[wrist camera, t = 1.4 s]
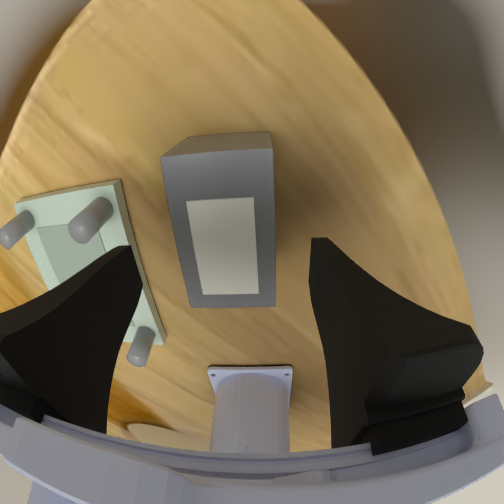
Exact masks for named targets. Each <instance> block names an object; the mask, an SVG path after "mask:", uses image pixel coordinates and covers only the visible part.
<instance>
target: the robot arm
mask: <svg viewBox="0 0 504 504" xmlns="http://www.w3.org/2000/svg"><path fill="white" fill-rule="evenodd" d="M142 288H143V282H142V279H141V276H140V273H139V270H138V266H137V263H136V260H135V257H134V254H133V250H132V247H131V245H121V246H117V247H115V248H113V249H111V250H110V251H108V252H106V253H105V254H103V255H102V256H100V257H99V258H97V259H96V260H95V261H93V262H92V263H90V264H89V265H87V266H86V267H85V268H83V269H82V270H80V271H79V272H77V273H76V274H74V275H73V276H71V277H70V278H68V279H67V280H66V281H64V282H63V283H61V284H59V285H58V286H56V287H55V288H53V289H51V290H49V291H48V292H46V293H44V294H43V295H41V296H39V297H37V298H35V299H33V300H31V301H29V302H27V303H25V304H23V305H20V306H18V307H16V308H13V309H11V310H8V311H6V312H3V313H0V456H2V457H3V459H4V461H5V463H6V464H8V465H9V466H11V467H12V468H13V469H15V470H17V471H18V472H20V473H21V474H23V475H25V476H26V477H28V478H30V479H31V480H33V483H32V487H31V491H30V494H29V499H28V503H27V504H431V503H433V502H435V501H438V500H440V499H442V498H445V497H447V496H449V495H451V494H453V493H455V492H458V491H460V490H462V489H464V488H466V487H467V486H469V485H471V484H473V483H475V482H477V481H478V480H480V479H482V478H484V477H486V476H487V475H489V474H491V473H492V472H494V471H496V470H497V469H499V468H500V467H502V466H504V410H503V407H502V405H501V403H500V400H499V398H498V396H497V394H493V395H491V396H488V397H486V398H484V399H481V400H479V401H477V402H474V403H472V404H470V405H469V406H467V407H466V408H465V409H464V407H463V404H462V402H461V401H462V400H464V398H465V394H464V391H463V389H462V387H463V386H464V384H465V383H466V382H467V381H468V379H469V378H470V377H471V376H472V374H473V373H474V372H475V370H476V369H477V367H478V366H479V364H480V363H481V360H482V357H483V353H484V352H483V347H482V345H481V343H480V341H479V340H478V338H477V336H476V334H475V333H474V331H473V329H472V328H471V326H470V325H467V324H464V323H461V322H458V321H455V320H452V319H449V318H446V317H444V316H441V315H439V314H437V313H434V312H432V311H430V310H427V309H425V308H423V307H421V306H419V305H417V304H415V303H413V302H411V301H410V300H408V299H406V298H404V297H402V296H401V295H399V294H397V293H396V292H394V291H392V290H391V289H389V288H388V287H386V286H385V285H383V284H382V283H380V282H379V281H378V280H376V279H375V278H373V277H372V276H371V275H370V274H368V273H367V272H366V271H365V270H363V269H362V268H361V267H360V266H358V265H357V264H356V263H355V262H354V261H353V260H351V259H350V258H349V257H348V256H347V255H346V254H345V253H344V252H343V251H342V250H340V249H339V248H338V247H337V246H336V245H335V244H334V243H333V242H332V241H331V240H330V239H328V238H311V255H310V269H309V288H310V296H311V303H312V307H313V311H314V315H315V318H316V322H317V326H318V330H319V334H320V338H321V342H322V346H323V350H324V355H325V361H326V370H327V378H328V389H329V400H330V416H331V445H332V449H325V450H316V451H305V452H291V453H290V436H289V415H288V410H289V403H290V394H291V384H292V374H293V368H292V367H291V366H272V367H209V368H208V375H209V378H210V381H211V384H212V387H213V391H214V394H215V406H214V414H213V423H212V432H211V441H210V451H209V452H207V451H195V450H186V449H178V448H171V447H164V446H158V445H152V444H147V443H142V442H137V441H132V440H127V439H123V438H119V437H115V436H111V435H107V434H106V431H107V412H108V403H109V395H110V388H111V383H112V378H113V373H114V368H115V364H116V360H117V356H118V353H119V350H120V347H121V344H122V342H123V340H124V337H125V335H126V332H127V330H128V327H129V325H130V323H131V320H132V318H133V316H134V313H135V311H136V308H137V306H138V303H139V299H140V296H141V292H142Z"/></svg>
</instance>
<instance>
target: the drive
mask: <svg viewBox="0 0 504 504" xmlns="http://www.w3.org/2000/svg"><path fill="white" fill-rule="evenodd" d="M160 159H161V166H162V172H163V178H164V184H165V190H166V195H167V201H168V206H169V212H170V217H171V222H172V227H173V232H174V237H175V241H176V246H177V251H178V255H179V260H180V264H181V269H182V273H183V277H184V281H185V285H186V290H187V294H188V298H189V302H190V306H191V308H234V307H276V248H275V197H274V163H273V146H272V142H271V137H270V133H269V131H261V132H241V133H226V134H214V135H203V136H194V137H188V138H186V139H185V140H183V141H182V142H180V143H179V144H178V145H176V146H175V147H174V148H172V149H171V150H170V151H168V152H167V153H165V154H164V155H163V156H162V157H160Z"/></svg>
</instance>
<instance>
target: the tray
mask: <svg viewBox="0 0 504 504" xmlns="http://www.w3.org/2000/svg"><path fill="white" fill-rule="evenodd" d="M14 207H15V210H16V213H17V216H16V217H14V218H13V219H12V220H11V221H9V222H8V223H7V224H6V225H4V226H3V227H2V228H1V229H0V243H1V245H2V246H3V247H4V248H6V249H10V248H11V247H12V246H13V245H15V244H16V243H17V242H18V241H19V240H20V239H21V238H22V237H23V236H24V235H25V238H26V241H27V243H28V246H29V248H30V250H31V253H32V255H33V258H34V260H35V262H36V264H37V267H38V269H39V271H40V273H41V275H42V278H43V280H44V282H45V284H46V286H47V288H48V290H51V289H53V288H55V287H56V286H58V285H59V284H61V283H63V282H64V281H66V280H67V279H68V278H70V277H71V276H73V275H74V274H76V273H77V272H79V271H80V270H82V269H83V268H85V267H86V266H87V265H89V264H90V263H92V262H93V261H95V260H96V259H97V258H99V257H100V256H102V255H103V254H105V253H106V252H108V251H110V250H111V249H113V248H115V247H117V246H121V245H131V247H132V250H133V254H134V257H135V260H136V263H137V266H138V270H139V273H140V276H141V279H142V282H143V288H142V292H141V296H140V299H139V303H138V306H137V308H136V311H135V313H134V316H133V318H132V320H131V323H130V325H129V327H128V330H127V332H126V335H125V337H124V340H123V342H132V344H131V347H130V349H129V352H128V355H127V360H128V361H129V362H130V363H131V364H133V365H135V366H138V367H144V366H145V365H146V363H147V359H148V356H149V353H150V350H151V347H152V344H159V345H164V343H165V340H166V337H167V336H166V333H165V331H164V328H163V325H162V323H161V320H160V317H159V314H158V312H157V309H156V306H155V303H154V300H153V297H152V294H151V291H150V288H149V285H148V282H147V279H146V276H145V273H144V269H143V266H142V263H141V260H140V256H139V253H138V249H137V246H136V242H135V239H134V235H133V231H132V228H131V224H130V220H129V216H128V212H127V208H126V204H125V199H124V195H123V191H122V186H121V181H120V179H119V180H113V181H106V182H100V183H94V184H89V185H83V186H78V187H73V188H68V189H63V190H58V191H53V192H49V193H44V194H40V195H35V196H31V197H27V198H23V199H20V200H19V201H18V202H16V203H15V204H14Z"/></svg>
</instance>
